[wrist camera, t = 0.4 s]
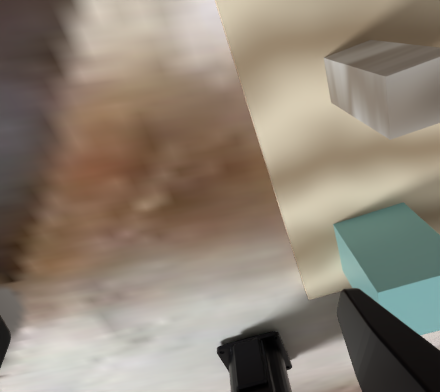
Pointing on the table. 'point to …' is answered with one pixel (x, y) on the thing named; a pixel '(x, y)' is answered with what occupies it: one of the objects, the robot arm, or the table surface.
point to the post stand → (340, 113)
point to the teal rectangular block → (394, 263)
